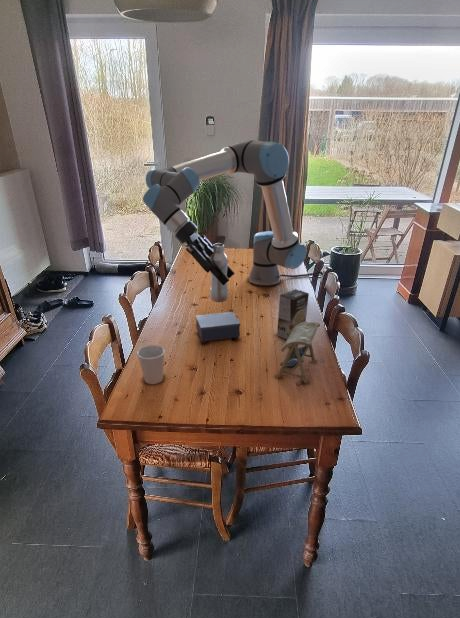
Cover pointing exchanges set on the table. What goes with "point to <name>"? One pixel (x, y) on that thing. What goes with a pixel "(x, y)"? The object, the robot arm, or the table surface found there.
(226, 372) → the table surface
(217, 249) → the plastic bottle
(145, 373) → the dixie cup
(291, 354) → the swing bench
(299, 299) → the coffee box
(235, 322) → the grey rectangular box
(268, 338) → the table surface
